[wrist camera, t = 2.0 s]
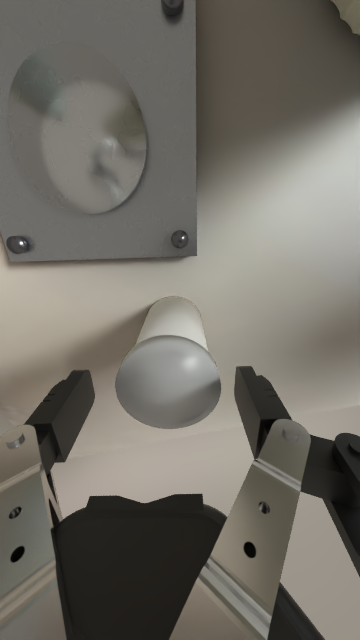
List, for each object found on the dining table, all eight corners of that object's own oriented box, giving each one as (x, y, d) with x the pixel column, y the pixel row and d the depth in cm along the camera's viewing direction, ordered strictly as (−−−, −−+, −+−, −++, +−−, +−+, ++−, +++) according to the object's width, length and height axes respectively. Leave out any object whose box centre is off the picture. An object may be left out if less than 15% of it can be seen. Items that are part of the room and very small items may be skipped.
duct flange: (194, -10, 12) (196, -60, 10) (195, 253, 18) (197, 257, 15) (-53, 5, 12) (-102, -40, 10) (23, 259, 18) (2, 263, 16)
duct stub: (205, 291, 19) (223, 342, 11) (204, 348, 21) (219, 427, 13) (140, 293, 19) (107, 345, 11) (146, 350, 21) (122, 429, 13)
